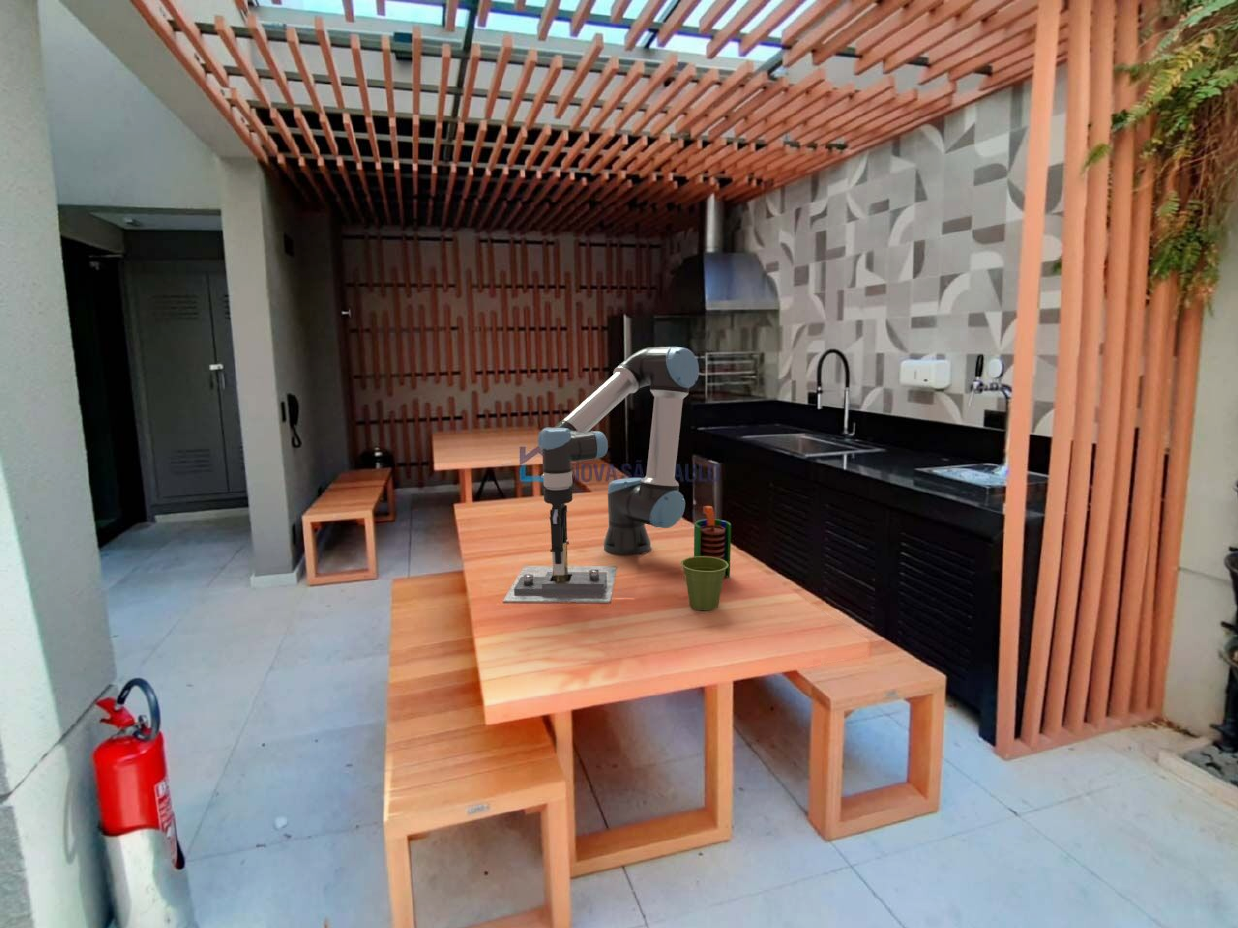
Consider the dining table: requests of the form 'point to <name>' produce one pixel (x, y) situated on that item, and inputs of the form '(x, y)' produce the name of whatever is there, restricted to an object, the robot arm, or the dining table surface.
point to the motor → (713, 538)
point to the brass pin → (565, 576)
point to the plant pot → (704, 580)
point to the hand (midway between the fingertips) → (560, 571)
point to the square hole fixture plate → (563, 585)
